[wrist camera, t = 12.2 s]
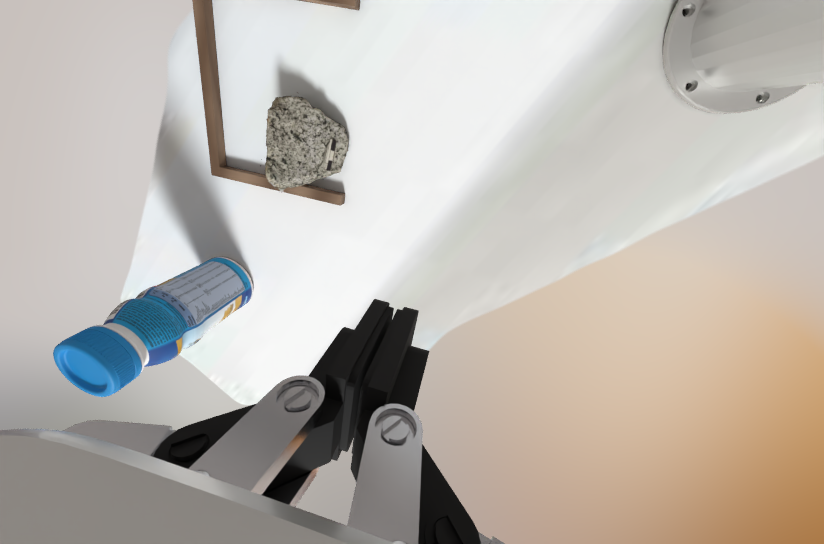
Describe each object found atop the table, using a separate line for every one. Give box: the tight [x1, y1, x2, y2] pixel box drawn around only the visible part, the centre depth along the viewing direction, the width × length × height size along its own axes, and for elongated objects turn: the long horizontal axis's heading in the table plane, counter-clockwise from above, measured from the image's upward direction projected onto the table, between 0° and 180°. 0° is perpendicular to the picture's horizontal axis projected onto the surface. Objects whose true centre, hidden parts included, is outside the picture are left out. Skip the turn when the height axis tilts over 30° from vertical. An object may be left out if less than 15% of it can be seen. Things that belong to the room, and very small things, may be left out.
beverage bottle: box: [53, 257, 253, 397], centre depth 39 cm, size 8×8×20 cm
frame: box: [193, 0, 360, 205], centre depth 35 cm, size 17×20×1 cm
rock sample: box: [260, 92, 349, 192], centre depth 35 cm, size 10×8×9 cm
